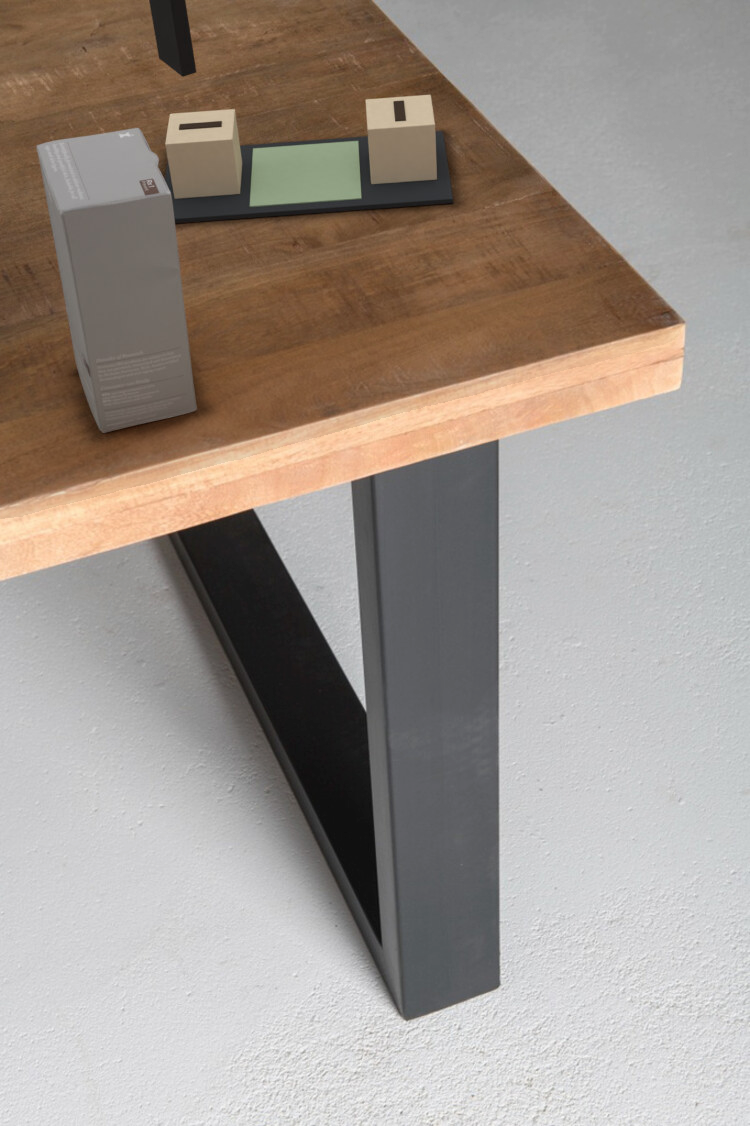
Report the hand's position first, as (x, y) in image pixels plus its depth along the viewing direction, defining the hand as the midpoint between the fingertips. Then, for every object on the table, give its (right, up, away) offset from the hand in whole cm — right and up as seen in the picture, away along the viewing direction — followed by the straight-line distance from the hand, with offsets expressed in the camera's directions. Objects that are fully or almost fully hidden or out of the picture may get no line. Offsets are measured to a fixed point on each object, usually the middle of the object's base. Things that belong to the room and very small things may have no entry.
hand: (49, 105), depth 67 cm
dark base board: (+10, +8, +42) cm, 44 cm away
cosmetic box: (+1, -11, +23) cm, 26 cm away
